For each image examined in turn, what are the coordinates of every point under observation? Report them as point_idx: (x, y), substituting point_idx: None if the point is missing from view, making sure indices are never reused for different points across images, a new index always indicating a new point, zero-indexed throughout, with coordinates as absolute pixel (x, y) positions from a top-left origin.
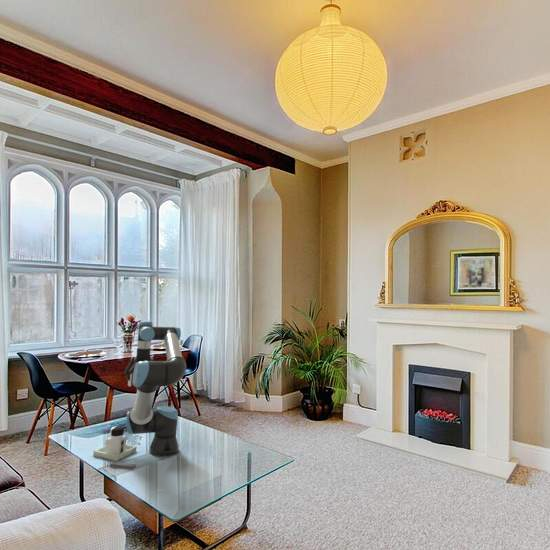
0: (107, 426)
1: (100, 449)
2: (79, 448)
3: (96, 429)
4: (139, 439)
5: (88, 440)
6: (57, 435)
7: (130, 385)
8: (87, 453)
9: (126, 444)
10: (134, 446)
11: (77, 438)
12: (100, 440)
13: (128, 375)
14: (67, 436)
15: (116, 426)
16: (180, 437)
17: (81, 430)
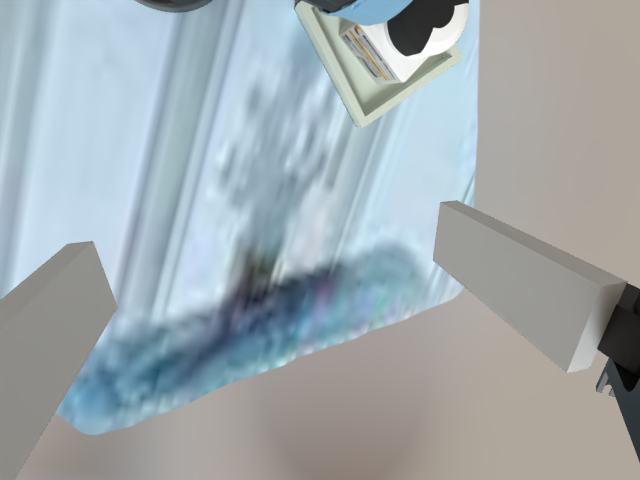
0: (312, 323)
1: (431, 70)
2: (456, 158)
3: (352, 306)
4: (240, 150)
5: (407, 219)
6: (460, 291)
7: (454, 205)
8: (455, 97)
9: (330, 59)
10: (306, 9)
11: (427, 249)
12: (375, 203)
13: (629, 290)
14: (443, 274)
15: (437, 30)
16: (16, 77)
17: (393, 310)
